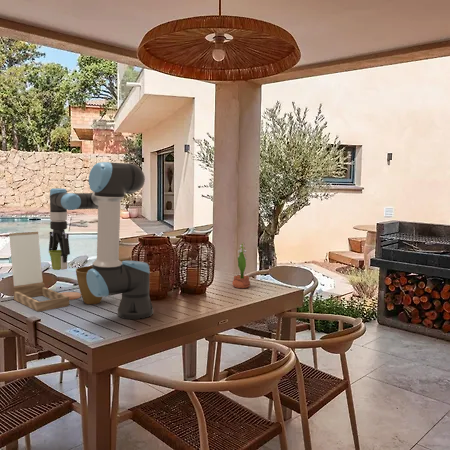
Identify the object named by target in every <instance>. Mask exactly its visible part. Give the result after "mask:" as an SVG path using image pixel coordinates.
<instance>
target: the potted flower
mask: <svg viewBox="0 0 450 450" xmlns="http://www.w3.org/2000/svg"><path fill="white" fill-rule="evenodd" d="M244 245H245V243H241V244H240V245H239V249H238V250H237V254H238V256H237V267H238V269H239V272H240V275H234V276H233V280H232V282H231V283H232V286H233V287H234V288H237V289H248V288H250V285H251V281H250V276H248V275H245V270H246V267H247V261H246V260H248V257H247V256H246V253H247V249H246V247H244ZM244 253H245V254H244Z"/></svg>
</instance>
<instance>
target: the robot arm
mask: <svg viewBox="0 0 450 450" xmlns="http://www.w3.org/2000/svg"><path fill="white" fill-rule="evenodd" d="M145 179H146V177H145V173H144V171H143V170H142V168H140V167H139V166H138V165H136V164H134V163H127V162H126V163H125V162H109V161H102V162H97V163H94V165H93V166H92V167H91V169H90V171H89V175H88V186H89V190H91V192H88V193H87V192H84V193H83V192H81V193H79V192H78V193H77V192H74V193H73V192H67V191H68V190H67V189H66V188H58V187H57V188H50V190H49V220H50V223H49V225H50V227H49V228H50V230H52V231H49V244H48V252H49V251H52V250H58V247H59V248H60V249H59V250H61V253H62V255H61V269H60V270H63V269H64V270H67V269H68V256H69V255H71V251H70V249H71V248H70V242H69V235H70V234H69V233H66V231H65V230H67V229H68V221H67V220H68V211H75V210H97V231H96V233H97V234H96V235H97V237H96V239H97V241H96V259H95V260H94V261H92V266H93V269H90V270H88V273H87V276H86V279H87V285H88V287H89V289H90V291H91V293H92V294H93V295H94V296H96V297H102V298H103V297H105V298H106V297H110V296H115V295H119V294H121V299H120V302H119V305H118V308H117V317H120V318H122V319H127V320H141V319H140V318H142V319H145V317H147V318H149V316H150V317H151V315H152V314H153V315H154V308H153V304H152V301H151V298H150V274H151V273H150V265H149V264H148V263H147V262H145V261H137V260H122V261H121V260H120V258H119V255H120V253H119V252H120V225H121V223H120V222H121V201H122V200H124V198H125V195H126V194H128V195H132V194H134V193H137V192H138V191H140V190H141V189H142V188H143V187H144V185H145V182H146V181H145ZM67 255H68V256H67ZM153 315H152V316H153Z"/></svg>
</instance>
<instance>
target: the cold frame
mask: <svg viewBox="0 0 450 450" xmlns="http://www.w3.org/2000/svg"><path fill="white" fill-rule="evenodd" d="M45 284H46V283H44V282H41V283H34V284H27V285H20V286H13V300H14V301H15V302H18V303H20V304H22V305H23V306H26V307H28V308H30V309H32V310H33V311H35V312H43V311H49V310H54V309H59V308H65V307H69V306H70V300H69V297H68V296H65V295H63V294H60V293H61V292H58V291H55V290H53V289H50V288H47V287H45V286H46V285H45ZM41 296H42V297H45V298H47V300H42V301H38V300H37V299H34V298H36V297H41Z"/></svg>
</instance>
